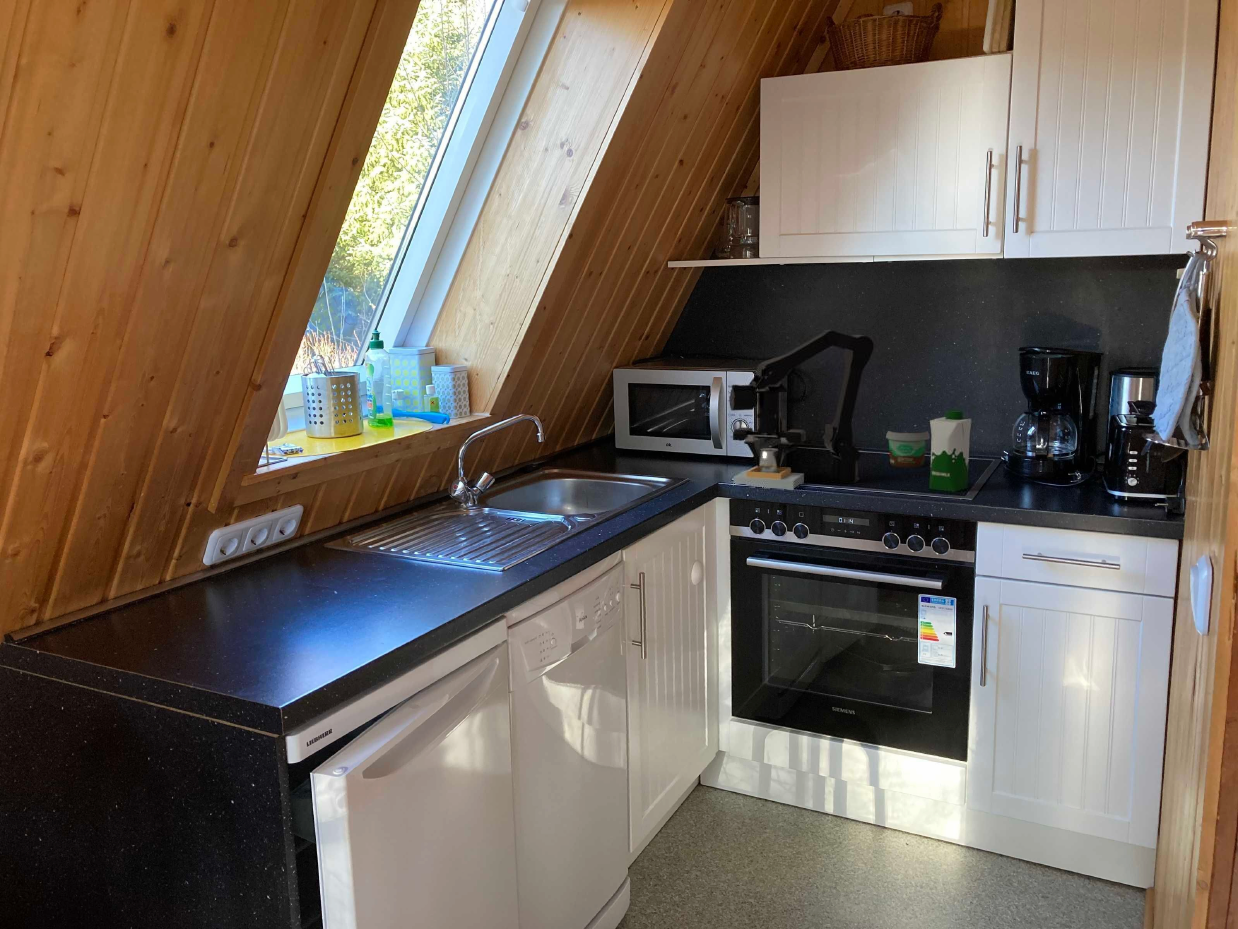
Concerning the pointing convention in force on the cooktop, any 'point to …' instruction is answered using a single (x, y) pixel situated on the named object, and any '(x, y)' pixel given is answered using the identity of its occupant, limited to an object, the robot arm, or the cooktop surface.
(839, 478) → the robot arm
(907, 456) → the food container
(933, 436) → the milk carton
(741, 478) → the grey slab with frame
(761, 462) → the steel can
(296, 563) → the cooktop surface
